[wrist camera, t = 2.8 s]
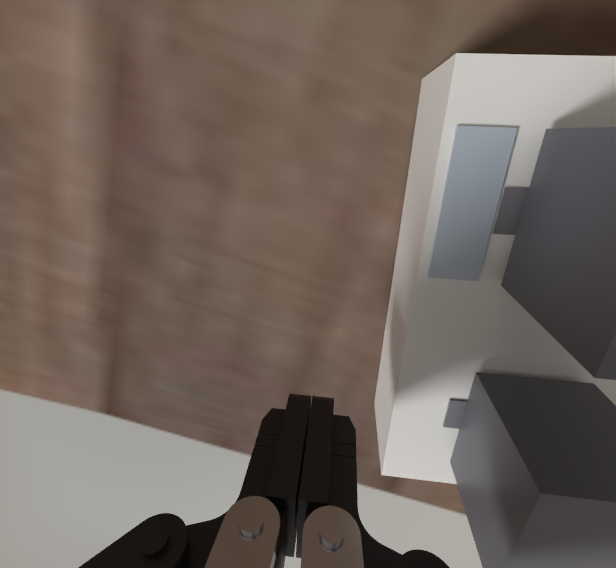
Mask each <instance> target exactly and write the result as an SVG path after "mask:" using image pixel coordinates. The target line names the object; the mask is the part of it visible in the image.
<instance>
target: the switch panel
mask: <svg viewBox="0 0 616 568" xmlns="http://www.w3.org/2000/svg"><path fill="white" fill-rule="evenodd" d="M587 127H616V56H580V55H527V54H475V53H456V54H455V55H453V56H452V57H451V58H449V59H448V60H447V61H445V62H444V63H443V64H441V65H440V66H439V67H437V68H436V69H435V70H433V71H432V72H431V73H429V74H428V75H427V76H425V77H424V78H423V79H422V83H421V90H420V96H419V103H418V110H417V117H416V124H415V130H414V137H413V144H412V151H411V157H410V164H409V171H408V178H407V185H406V191H405V198H404V205H403V212H402V218H401V225H400V232H399V239H398V245H397V252H396V259H395V266H394V273H393V279H392V286H391V293H390V300H389V306H388V313H387V320H386V327H385V334H384V340H383V347H382V354H381V361H380V367H379V374H378V381H377V388H376V395H375V401H374V404H375V414H376V425H377V435H378V445H379V456H380V466H381V475H386V476H394V477H402V478H411V479H419V480H427V481H435V482H444V483H452V484H457V483H456V479H455V476H454V473H453V470H452V467H451V463H450V460H451V456H452V453H453V449H454V446H455V442H456V439H457V435H458V432H459V428H460V425H461V422H462V418H463V415H464V411H465V408H466V404H467V401H468V397H469V394H470V390H471V387H472V383H473V380H474V377H475V373H476V372H479V373H489V374H500V375H511V376H521V377H532V378H542V379H553V380H564V381H574V382H585V383H594V384H595V385H596V386H597V387H598V388H599V389H600V390H601V391H602V392H603V393H604V394H605V395H606V396H607V397H608V398H609V399H610V400H611V401H612V402H613V403H614V404H615V405H616V380H610V379H599V378H594V377H593V376H592V375H591V374H590V373H589V372H588V371H587V370H586V369H585V368H584V367H583V366H582V365H581V364H580V363H579V362H578V361H577V360H576V359H575V358H574V357H573V356H572V355H571V354H570V353H569V352H568V351H567V350H566V349H565V348H564V347H562V346H561V345H560V344H559V343H558V342H557V341H556V340H555V339H554V338H553V337H552V336H551V335H550V334H549V333H548V332H547V331H546V330H545V329H544V328H543V327H542V326H541V325H540V324H539V323H538V322H537V321H536V320H535V319H534V318H533V317H532V316H531V315H530V314H529V313H528V312H527V311H526V310H525V309H524V308H523V307H522V306H521V305H520V304H519V303H518V302H517V301H516V300H515V299H514V298H513V297H512V296H511V295H510V294H509V293H508V292H507V291H506V290H505V289H504V288H503V287H502V286H501V283H502V280H503V276H504V273H505V269H506V266H507V262H508V259H509V255H510V252H511V248H512V245H513V241H514V238H515V235H516V231H517V228H518V224H519V221H520V217H521V214H522V210H523V207H524V203H525V200H526V196H527V193H528V190H529V186H530V183H531V179H532V176H533V172H534V169H535V165H536V162H537V158H538V155H539V151H540V148H541V145H542V141H543V138H544V134H545V131H546V129H553V128H587Z"/></svg>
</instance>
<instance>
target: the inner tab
mask: <svg viewBox="0 0 616 568" xmlns="http://www.w3.org/2000/svg"><path fill="white" fill-rule="evenodd" d="M501 286H502V287H503V288H504V289H505V290H506V291H507V292H508V293H509V294H510V295H511V296H512V297H513V298H514V299H515V300H516V301H517V302H518V303H519V304H520V305H521V306H522V307H523V308H524V309H525V310H526V311H527V312H528V313H529V314H530V315H531V316H532V317H533V318H534V319H535V320H536V321H537V322H538V323H539V324H540V325H541V326H542V327H543V328H544V329H545V330H546V331H547V332H548V333H549V334H550V335H551V336H552V337H553V338H554V339H555V340H556V341H557V342H558V343H559V344H560V345H561V346H562V347H564V348H565V349H566V350H567V351H568V352H569V353H570V354H571V355H572V356H573V357H574V358H575V359H576V360H577V361H578V362H579V363H580V364H581V365H582V366H583V367H584V368H585V369H586V370H587V371H588V372H589V373H590V374H591V375H592V376H593V377H594V378H599V379H610V380H616V127H587V128H553V129H546V131H545V134H544V138H543V141H542V145H541V148H540V151H539V155H538V158H537V162H536V165H535V169H534V172H533V176H532V179H531V183H530V186H529V190H528V193H527V196H526V200H525V203H524V207H523V210H522V214H521V217H520V221H519V224H518V228H517V231H516V235H515V238H514V241H513V245H512V248H511V252H510V255H509V259H508V262H507V266H506V269H505V273H504V276H503V280H502V283H501Z"/></svg>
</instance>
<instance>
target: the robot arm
mask: <svg viewBox="0 0 616 568" xmlns="http://www.w3.org/2000/svg"><path fill="white" fill-rule="evenodd" d="M333 407H334V398H327V397H317V396H313V397H312V404H311V396H307V395H297V394H289V398H288V402H287V406H286V410H284V409H275V408H272V409H271V410H270V411H269V412H268V414H267V415H266V416H265V417H264V418H263V419H262V422H261V426H260V429H259V432H258V436H257V439H256V442H255V447H254V449H253V452H252V456H251V459H250V462H249V466H248V469H247V473H246V476H245V479H244V482H243V486H242V489H241V492H240V495H239V497H238V499H237V501H236V502H235V504H234V505H232V507H231V508H230V509H229V510H228V511H227V512H226V513H225V514H223V515H222V516H220V517H218V518H216V519H213V520H210V521H205V522H201V523H196V524H191V525H187V526H186V525H185V523H184V522H183V520H182V519H181V518H179V517H178V516H176V515H173V514H169V513H164V514H158V515H155V516H152V517H150V518H148V519H146V520H145V521H143V522H142V523H140V524H139V525H138V526H136V527H135V528H133V529H132V530H131V531H129V532H128V533H126V534H125V535H124V536H122V537H121V538H119V539H118V540H117V541H115V542H114V543H112V544H111V545H110V546H108V547H107V548H105V549H104V550H103V551H101V552H100V553H98V554H97V555H96V556H94V557H93V558H91V559H90V560H89V561H87V562H86V563H84V564H83V565H82V566H80V567H79V568H284V562H285V556H290V557H294V550H295V542H296V535H297V548H296V549H297V551H296V557H298V558H301V568H449V567H448V566H447V565H446V564H445V562H443V561H442V560H441V559H440V558H439V557H437V556H436V555H434V554H432V553H430V552H428V551H424V550H411V551H408V552H406V553H405V554H403V555H401V554H399V553H397V552H396V551H394V550H391V549H390V548H388V547H386V546H384V545H382V544H380V543H379V542H377V541H376V540H375V539H373V538H372V537H371V536H370V535H369V534H368V532H367V531H366V530H365V529H364V527H363V525H362V523H361V521H360V518H359V514H358V507H357V467H356V430H355V428H354V426H353V424H352V422H351V420H350V418H349V416H340V415H333ZM310 409H311V411H310Z"/></svg>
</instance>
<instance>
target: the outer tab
mask: <svg viewBox="0 0 616 568" xmlns="http://www.w3.org/2000/svg"><path fill="white" fill-rule="evenodd" d="M450 463H451V467H452V470H453V473H454V476H455V479H456V483H457V486H458V489H459V492H460V496H461V499H462V502H463V505H464V508H465V512H466V515H467V518H468V521H469V524H470V528H471V531H472V534H473V537H474V540H475V544H476V547H477V550H478V553H479V557H480V560H481V563H482V566H483V568H616V405H615V404H614V403H613V402H612V401H611V400H610V399H609V398H608V397H607V396H606V395H605V394H604V393H603V392H602V391H601V390H600V389H599V388H598V387H597V386H596V385H595V384H594V383H585V382H574V381H564V380H553V379H542V378H532V377H521V376H511V375H500V374H489V373H479V372H476V373H475V377H474V380H473V383H472V387H471V390H470V394H469V397H468V401H467V404H466V408H465V411H464V415H463V418H462V422H461V425H460V428H459V432H458V435H457V439H456V442H455V446H454V449H453V453H452V456H451V460H450Z"/></svg>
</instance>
